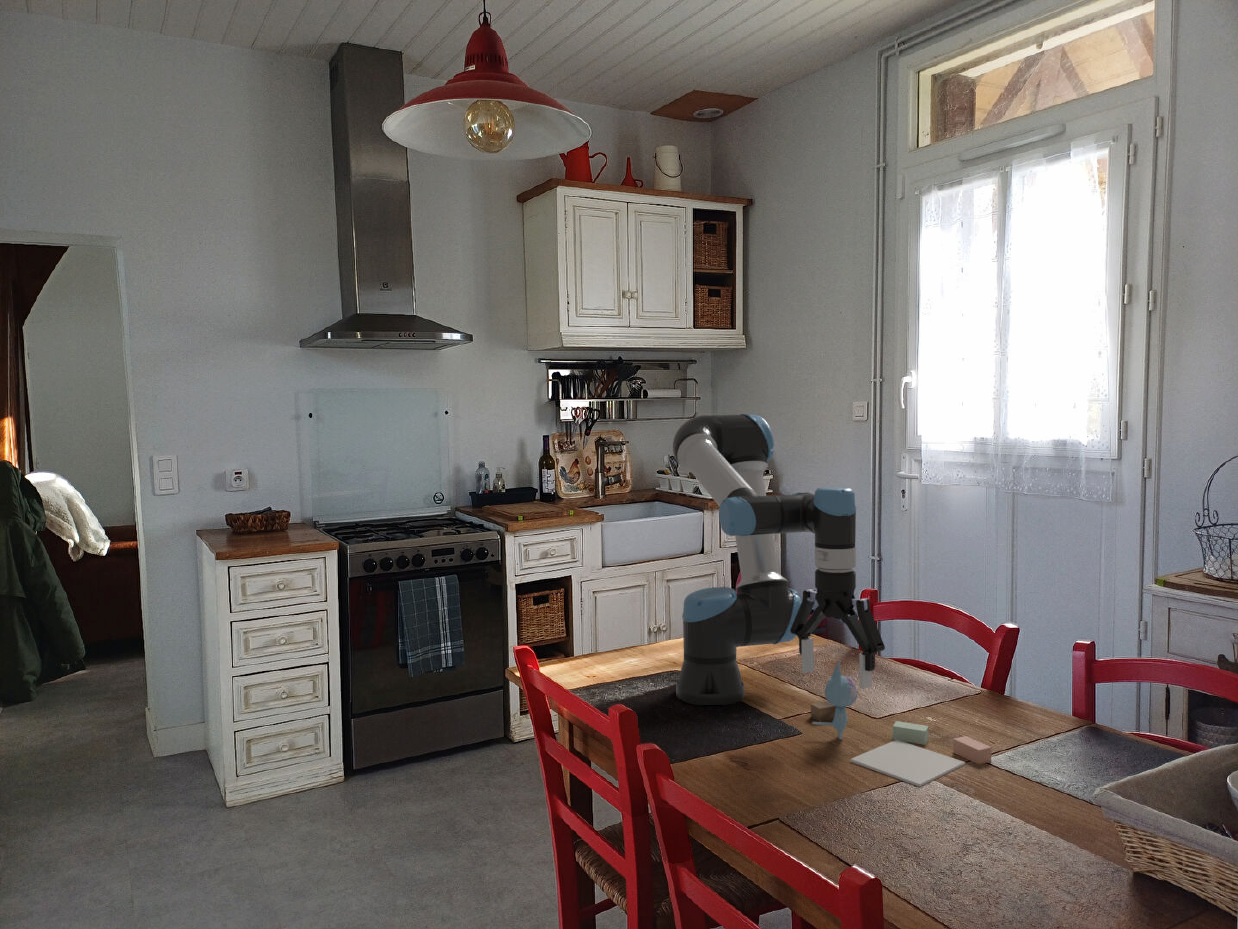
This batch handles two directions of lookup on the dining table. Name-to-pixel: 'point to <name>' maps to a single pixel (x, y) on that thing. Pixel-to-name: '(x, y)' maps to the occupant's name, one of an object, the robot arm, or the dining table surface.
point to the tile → (908, 762)
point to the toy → (839, 698)
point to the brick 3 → (972, 749)
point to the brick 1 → (823, 711)
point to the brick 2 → (910, 732)
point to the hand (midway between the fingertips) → (835, 679)
